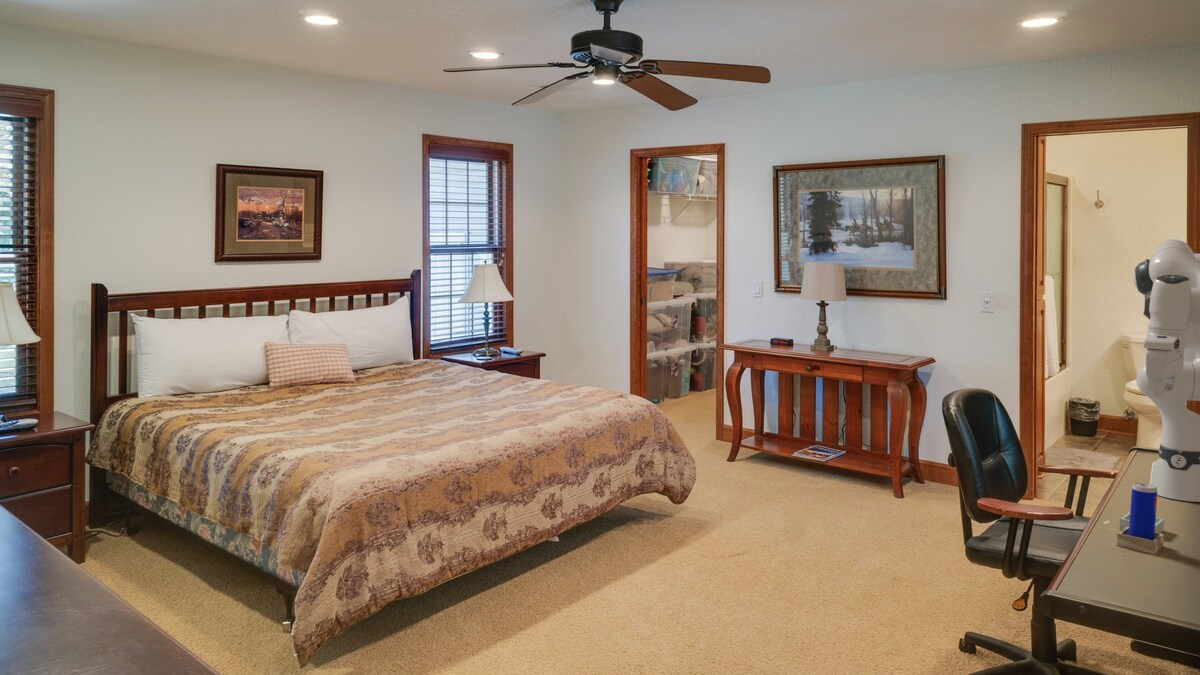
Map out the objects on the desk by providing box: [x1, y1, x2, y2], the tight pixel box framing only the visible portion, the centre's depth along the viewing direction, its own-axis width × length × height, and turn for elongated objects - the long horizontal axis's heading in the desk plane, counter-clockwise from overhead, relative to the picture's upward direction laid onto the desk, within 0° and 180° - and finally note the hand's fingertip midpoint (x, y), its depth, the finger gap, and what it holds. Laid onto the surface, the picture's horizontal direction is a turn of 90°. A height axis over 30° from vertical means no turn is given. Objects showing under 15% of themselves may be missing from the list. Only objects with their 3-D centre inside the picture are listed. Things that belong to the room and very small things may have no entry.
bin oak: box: [1116, 526, 1165, 555], centre depth 203 cm, size 8×8×3 cm
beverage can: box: [1129, 482, 1158, 541], centre depth 203 cm, size 5×5×15 cm
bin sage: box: [1118, 511, 1165, 534], centre depth 214 cm, size 8×8×3 cm
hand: (1163, 393), depth 215 cm, fingers open, 8 cm apart
